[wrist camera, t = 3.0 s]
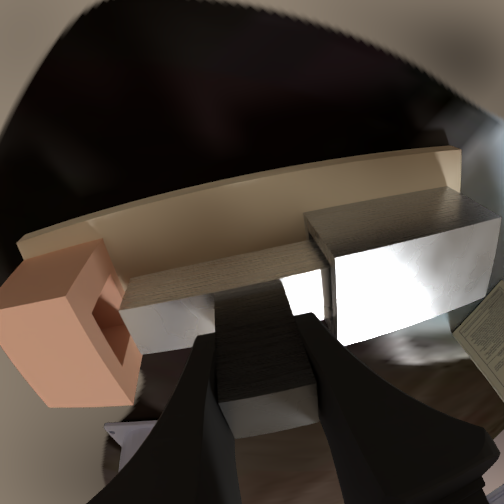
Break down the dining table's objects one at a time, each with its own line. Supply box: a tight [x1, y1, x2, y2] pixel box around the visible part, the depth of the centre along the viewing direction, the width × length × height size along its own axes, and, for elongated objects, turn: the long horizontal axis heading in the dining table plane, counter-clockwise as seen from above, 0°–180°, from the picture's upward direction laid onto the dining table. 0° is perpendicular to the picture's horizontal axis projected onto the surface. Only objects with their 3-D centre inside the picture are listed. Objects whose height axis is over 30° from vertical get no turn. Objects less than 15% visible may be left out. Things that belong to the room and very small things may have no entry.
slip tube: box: [118, 239, 333, 439], centre depth 11 cm, size 2×15×7 cm, turn 100°
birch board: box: [17, 146, 461, 292], centre depth 15 cm, size 8×23×1 cm, turn 100°
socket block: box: [0, 238, 143, 408], centre depth 13 cm, size 6×5×5 cm
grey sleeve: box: [303, 186, 502, 346], centre depth 13 cm, size 4×8×4 cm, turn 100°
